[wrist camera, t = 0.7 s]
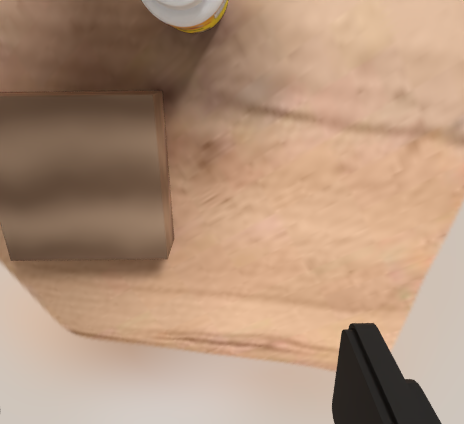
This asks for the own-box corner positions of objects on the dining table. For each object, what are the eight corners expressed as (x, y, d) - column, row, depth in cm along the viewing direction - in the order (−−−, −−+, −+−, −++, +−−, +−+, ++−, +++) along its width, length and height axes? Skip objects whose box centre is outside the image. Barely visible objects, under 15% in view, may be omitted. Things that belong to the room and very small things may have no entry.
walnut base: (-4, 92, 31) (-35, 96, 27) (162, 90, 31) (152, 94, 27) (33, 240, 36) (10, 260, 33) (174, 238, 36) (167, 259, 32)
